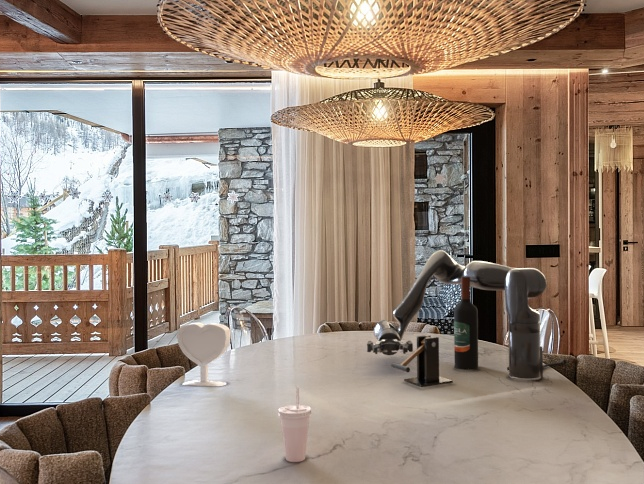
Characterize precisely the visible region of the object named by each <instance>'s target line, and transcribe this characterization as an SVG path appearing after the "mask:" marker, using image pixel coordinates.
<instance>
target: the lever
mask: <svg viewBox="0 0 644 484" xmlns="http://www.w3.org/2000/svg"><path fill="white" fill-rule="evenodd" d="M426 338H432V336H431V337H426ZM421 344H422V345H421V346H420V347H419V348H418V349H417V348H416V350H415V351H413V352H411V354H410V355H409V356H408V357H406V359H404V360H403V361H402V362H401V363H397V362H393V361H392V362H391V363H390V366H391V368H394V369H396V370H400V371H402V372H405V373H410V372H411V368H410V367H409V366H407V365H409V364H410V363H411V362H412V361H413V360H414V359H415V358H417V355H418V354H420V353H421V352H422V351H423V350H424V349H425V339H424V340H422V341H421Z"/></svg>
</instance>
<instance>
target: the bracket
mask: <svg viewBox="0 0 644 484" xmlns="http://www.w3.org/2000/svg"><path fill="white" fill-rule="evenodd" d="M426 337H431V338H426ZM424 339H425V349H424V350H423V351H422V352H421V353H420V354H418V355H417V356H416V377H408V378H404V379H403V381H404V382H406V383H409V384H410V385H411V384H412V385H414V386H416V387H419V388H424V387H425V388H426V387H432V386H437V385H438V386H439V385H445V384H451V383H453V380H452V379H449V378H446V377H443V376H440V336H433V337H432V335H430V334H426V335H417V336H416V350H417V349H418V348H419V347H420V346H421V345H422V344H421V341H422V340H424Z"/></svg>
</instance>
